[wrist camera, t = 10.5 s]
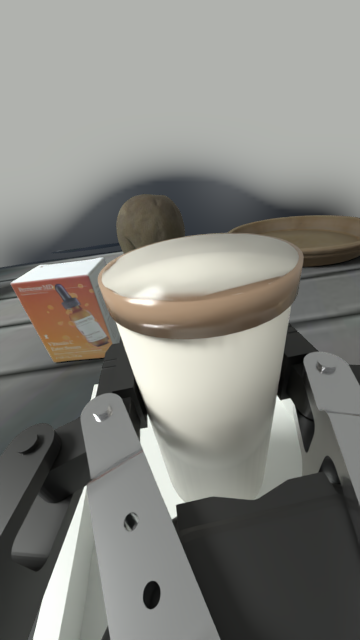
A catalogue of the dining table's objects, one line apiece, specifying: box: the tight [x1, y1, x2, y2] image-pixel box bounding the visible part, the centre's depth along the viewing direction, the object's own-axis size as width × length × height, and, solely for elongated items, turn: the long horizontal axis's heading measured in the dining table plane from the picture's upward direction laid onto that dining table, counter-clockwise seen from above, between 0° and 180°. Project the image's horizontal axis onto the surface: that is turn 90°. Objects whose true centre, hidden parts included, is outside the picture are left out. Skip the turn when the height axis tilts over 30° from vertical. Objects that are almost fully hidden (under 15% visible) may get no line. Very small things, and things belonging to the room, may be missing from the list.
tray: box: [33, 384, 302, 640], centre depth 13 cm, size 16×16×3 cm
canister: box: [98, 233, 304, 503], centre depth 9 cm, size 5×5×11 cm
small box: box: [11, 258, 120, 362], centre depth 26 cm, size 8×6×10 cm
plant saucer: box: [228, 215, 360, 267], centre depth 51 cm, size 31×31×5 cm
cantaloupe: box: [116, 194, 185, 254], centre depth 46 cm, size 14×14×15 cm
